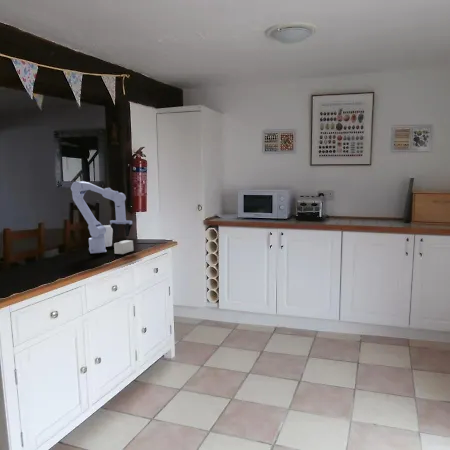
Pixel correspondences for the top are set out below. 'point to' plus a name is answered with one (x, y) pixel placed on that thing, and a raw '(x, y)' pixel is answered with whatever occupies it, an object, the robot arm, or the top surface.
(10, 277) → the top surface
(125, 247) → the white rectangular block
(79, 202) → the robot arm
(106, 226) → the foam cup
